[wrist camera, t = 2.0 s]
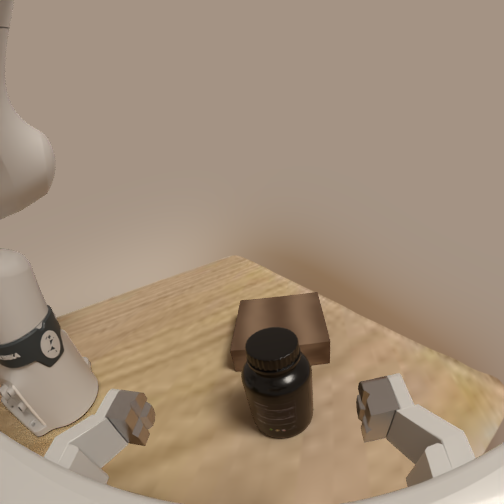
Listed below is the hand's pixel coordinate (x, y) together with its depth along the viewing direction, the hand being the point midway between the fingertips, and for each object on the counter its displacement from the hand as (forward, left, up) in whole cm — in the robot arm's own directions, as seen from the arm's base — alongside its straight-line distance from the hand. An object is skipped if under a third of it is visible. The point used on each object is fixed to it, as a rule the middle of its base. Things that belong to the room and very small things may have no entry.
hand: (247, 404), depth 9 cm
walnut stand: (0, +28, -20) cm, 34 cm away
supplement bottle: (0, +13, -20) cm, 24 cm away
